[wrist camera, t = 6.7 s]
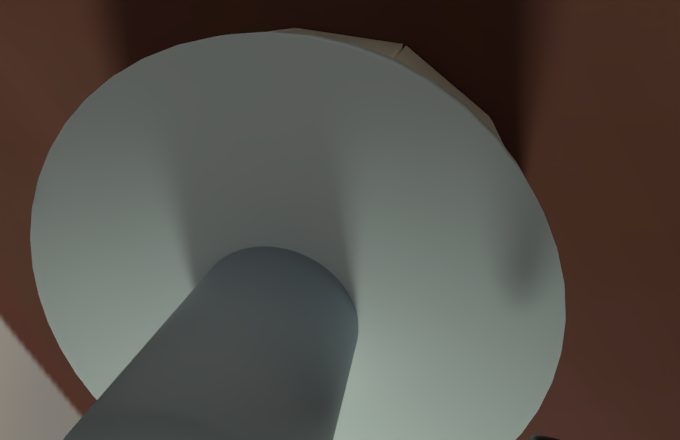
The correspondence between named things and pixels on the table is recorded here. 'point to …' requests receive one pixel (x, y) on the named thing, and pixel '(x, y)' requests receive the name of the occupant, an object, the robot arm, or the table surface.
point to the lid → (293, 252)
